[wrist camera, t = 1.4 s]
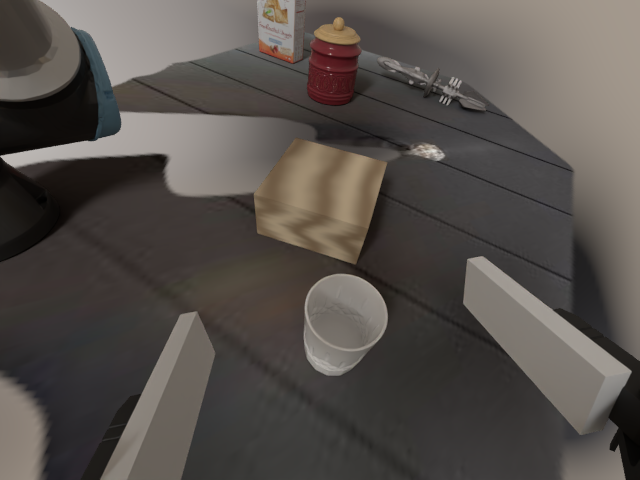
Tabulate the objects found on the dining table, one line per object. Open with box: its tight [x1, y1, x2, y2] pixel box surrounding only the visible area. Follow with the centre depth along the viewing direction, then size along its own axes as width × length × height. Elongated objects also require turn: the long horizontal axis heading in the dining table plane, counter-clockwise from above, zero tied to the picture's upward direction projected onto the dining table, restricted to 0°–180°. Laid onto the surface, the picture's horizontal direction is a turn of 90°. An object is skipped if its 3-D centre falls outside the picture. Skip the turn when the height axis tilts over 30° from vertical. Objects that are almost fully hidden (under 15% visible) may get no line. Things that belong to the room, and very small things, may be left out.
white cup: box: [304, 274, 388, 376], centre depth 31 cm, size 8×8×10 cm
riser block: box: [254, 138, 387, 265], centre depth 46 cm, size 16×16×8 cm
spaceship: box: [377, 57, 489, 111], centre depth 83 cm, size 8×35×8 cm
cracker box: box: [257, 0, 306, 64], centre depth 87 cm, size 14×6×21 cm, turn 58°
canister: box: [307, 17, 362, 105], centre depth 73 cm, size 13×13×18 cm
